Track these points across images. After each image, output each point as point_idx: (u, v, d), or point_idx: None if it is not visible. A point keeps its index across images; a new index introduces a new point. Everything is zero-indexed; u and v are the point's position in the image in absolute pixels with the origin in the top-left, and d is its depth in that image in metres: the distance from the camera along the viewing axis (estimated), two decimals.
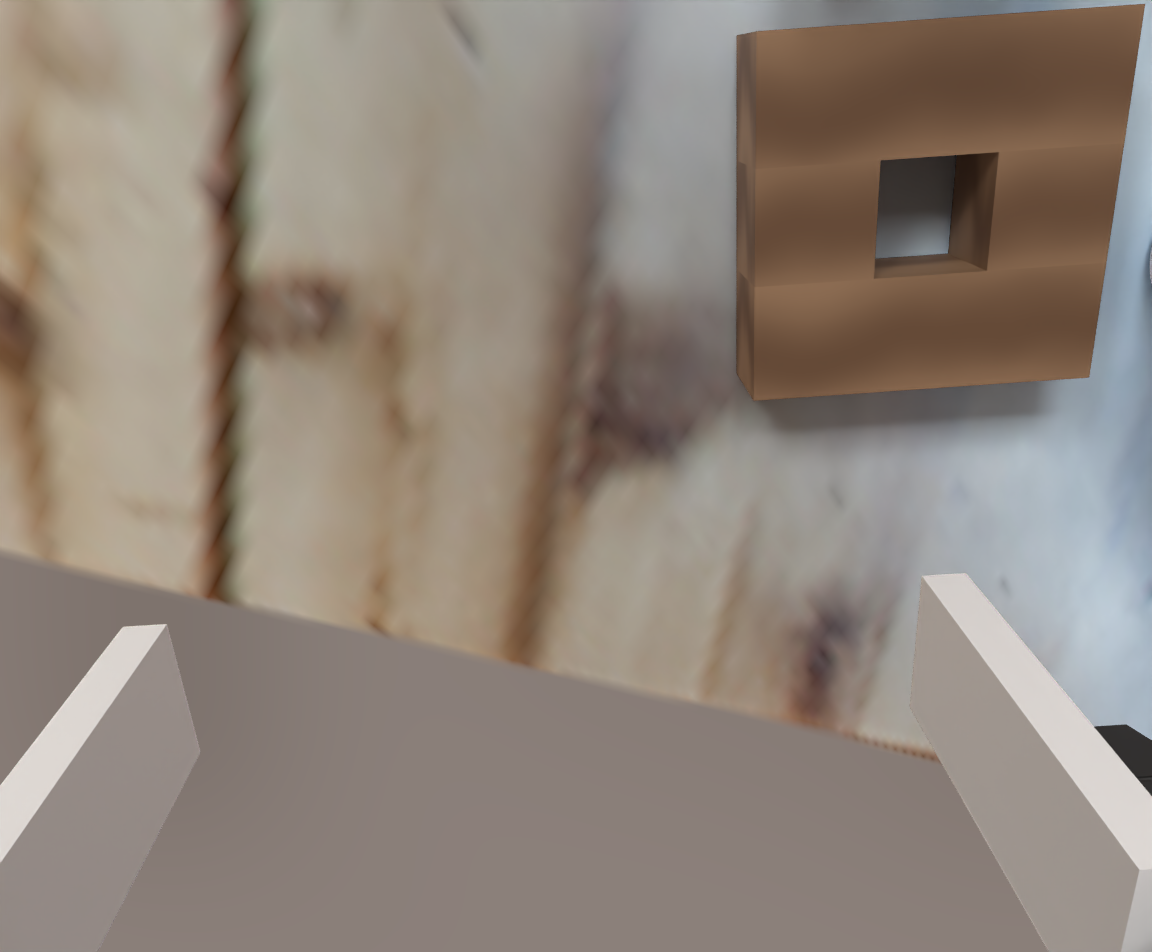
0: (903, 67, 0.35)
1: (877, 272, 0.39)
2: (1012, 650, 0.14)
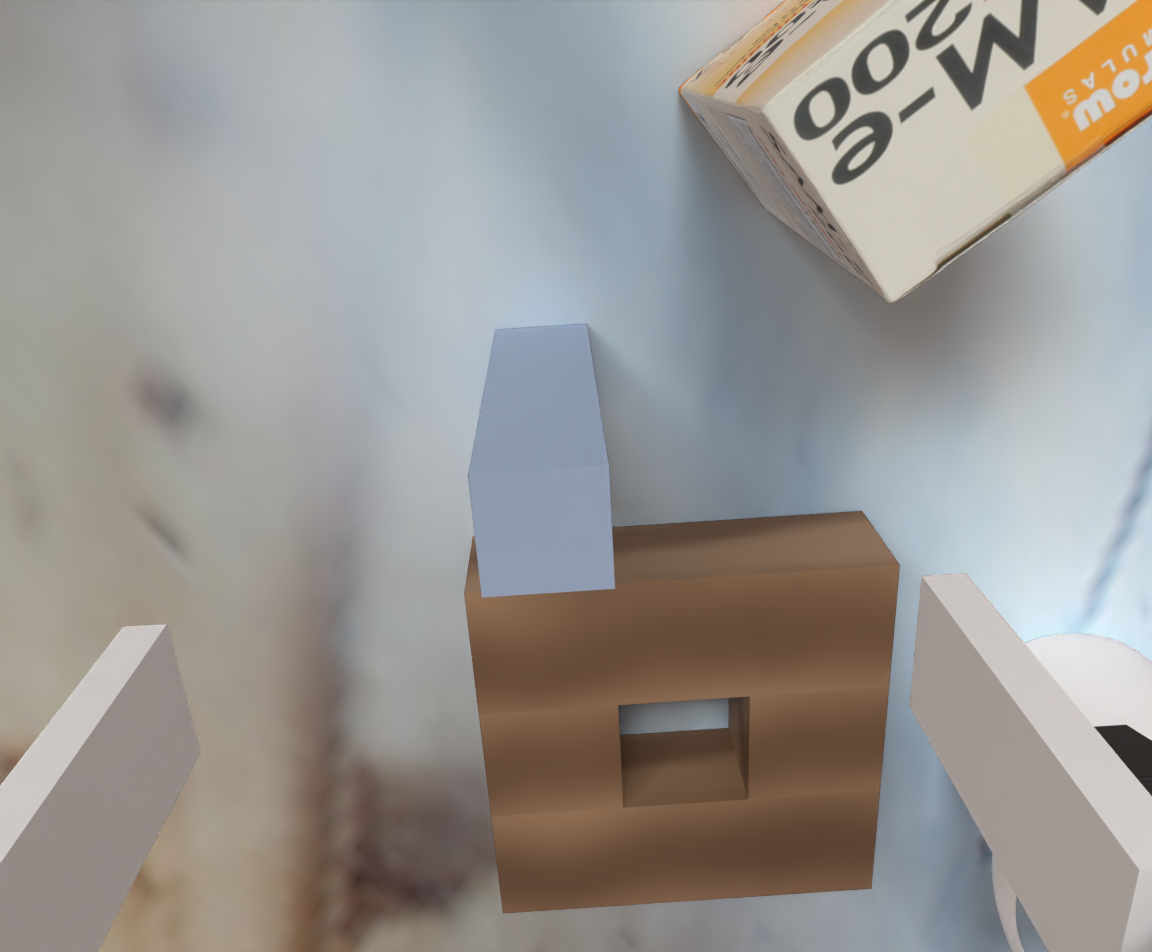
0: (634, 623, 0.31)
1: (634, 784, 0.35)
2: (1012, 650, 0.14)
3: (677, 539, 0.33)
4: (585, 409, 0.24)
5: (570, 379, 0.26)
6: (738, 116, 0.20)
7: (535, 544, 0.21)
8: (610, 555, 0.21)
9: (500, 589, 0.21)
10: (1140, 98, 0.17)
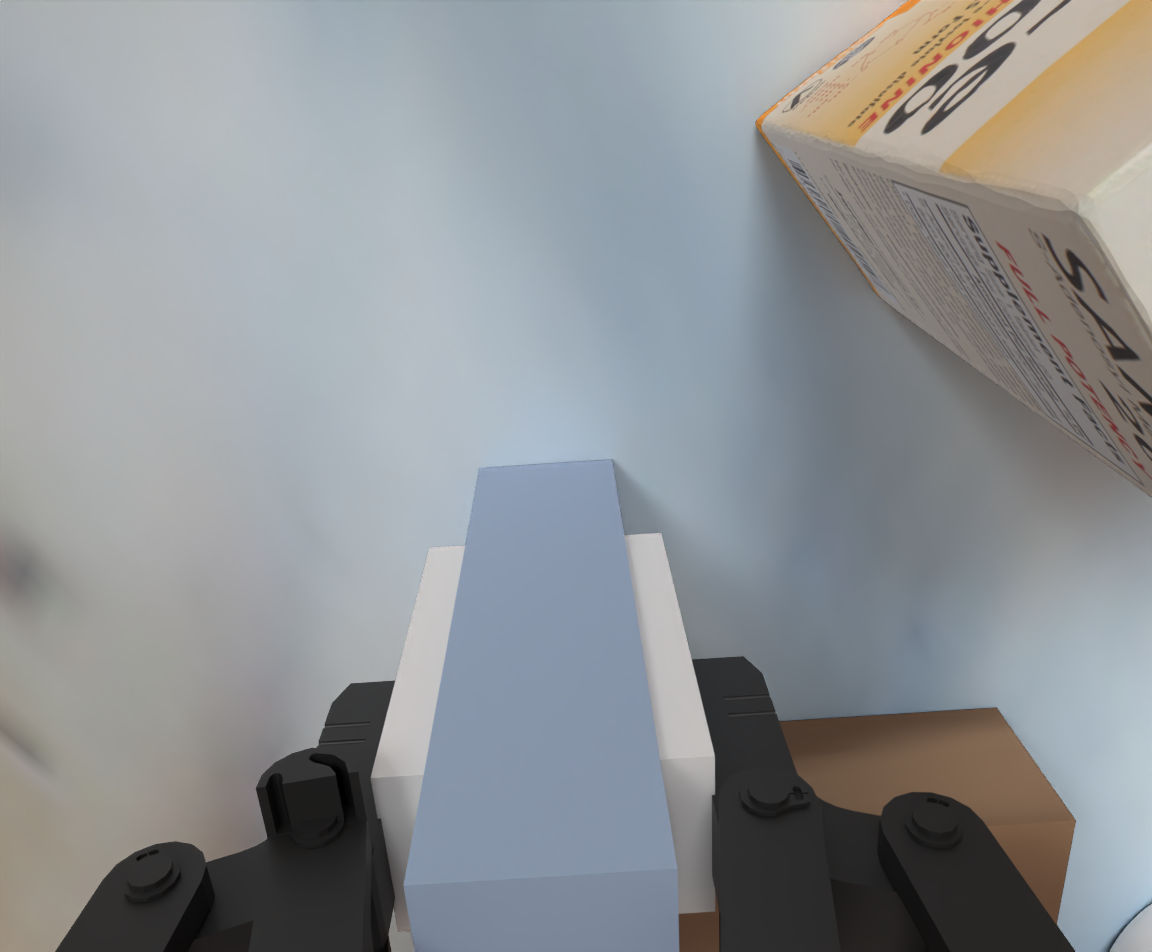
0: None
1: None
2: (661, 595, 0.16)
3: None
4: (621, 676, 0.14)
5: (592, 590, 0.16)
6: (941, 196, 0.10)
7: None
8: None
9: None
10: None
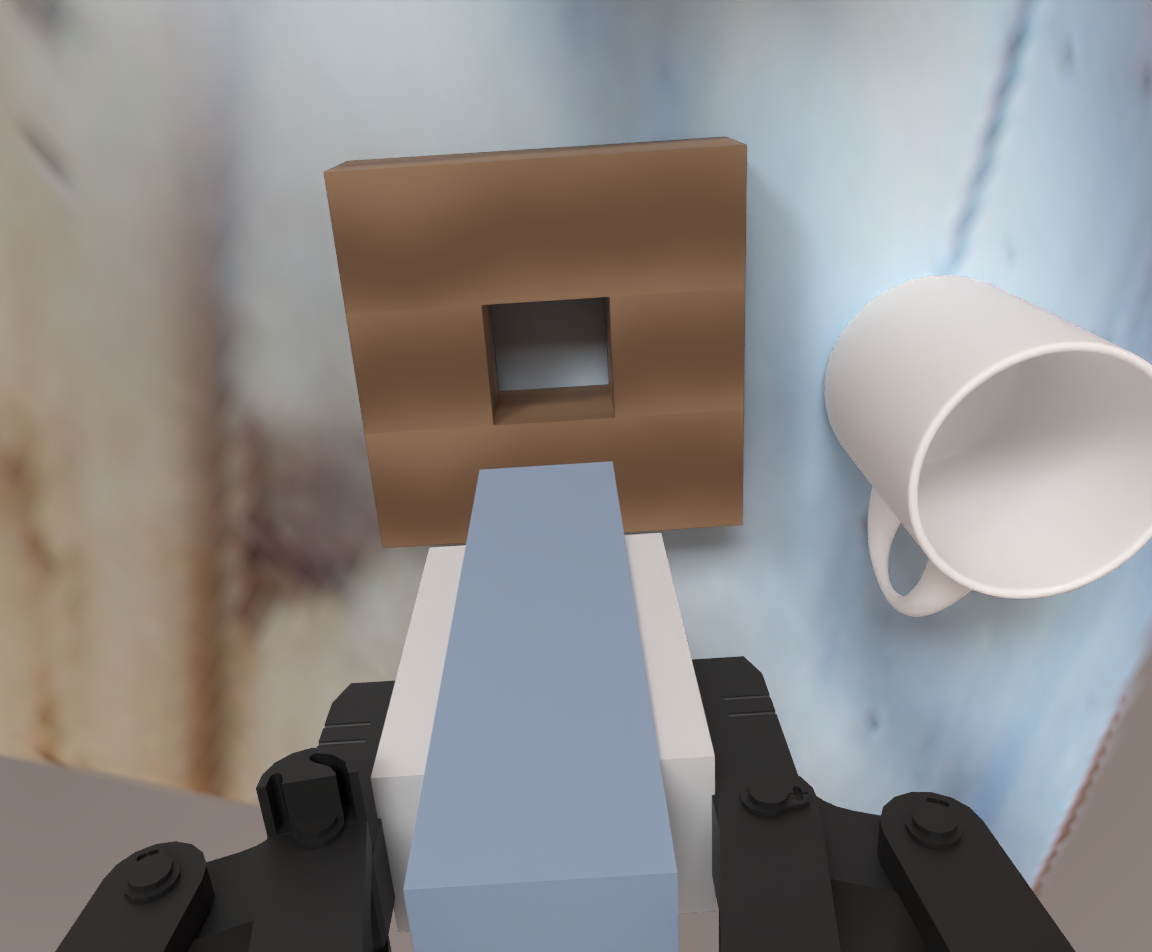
0: (491, 209, 0.32)
1: (508, 414, 0.36)
2: (661, 595, 0.16)
3: (541, 151, 0.34)
4: (621, 679, 0.14)
5: (592, 592, 0.16)
6: None
7: None
8: None
9: None
10: None
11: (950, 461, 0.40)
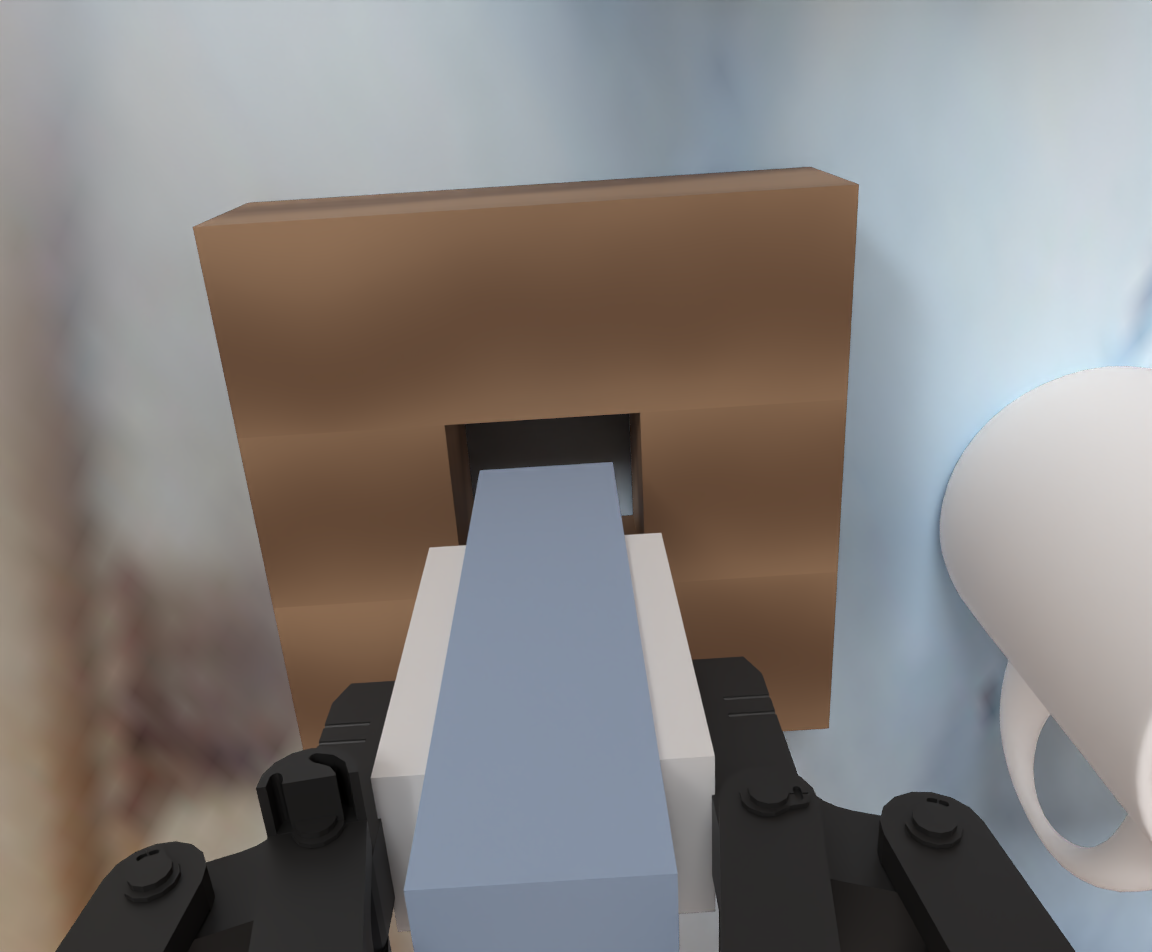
0: (458, 284, 0.21)
1: None
2: (661, 594, 0.16)
3: (536, 190, 0.23)
4: (621, 681, 0.14)
5: (592, 593, 0.16)
6: None
7: None
8: None
9: None
10: None
11: None
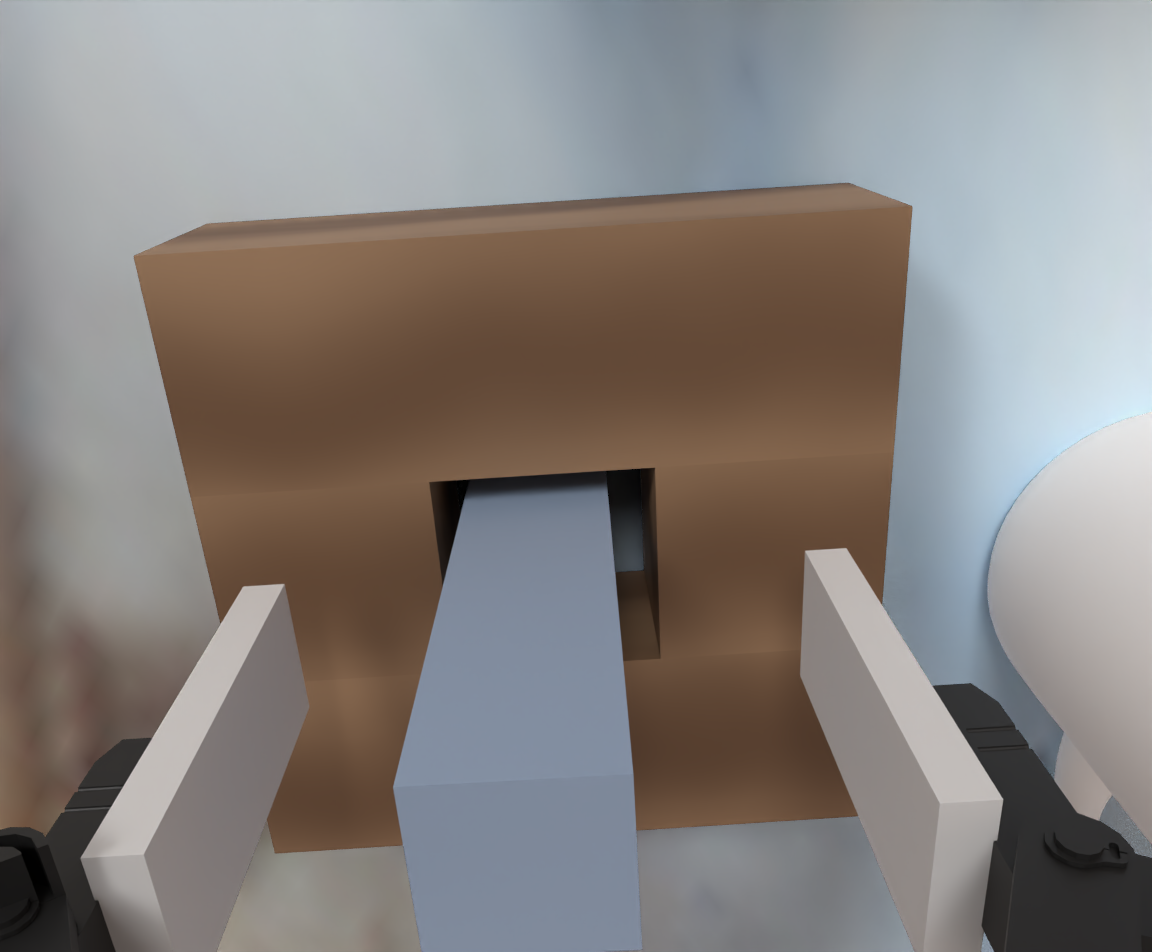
0: (443, 321, 0.18)
1: None
2: (872, 616, 0.15)
3: (536, 210, 0.20)
4: (596, 621, 0.15)
5: (575, 548, 0.18)
6: None
7: (509, 887, 0.13)
8: (635, 903, 0.13)
9: (453, 949, 0.13)
10: None
11: None
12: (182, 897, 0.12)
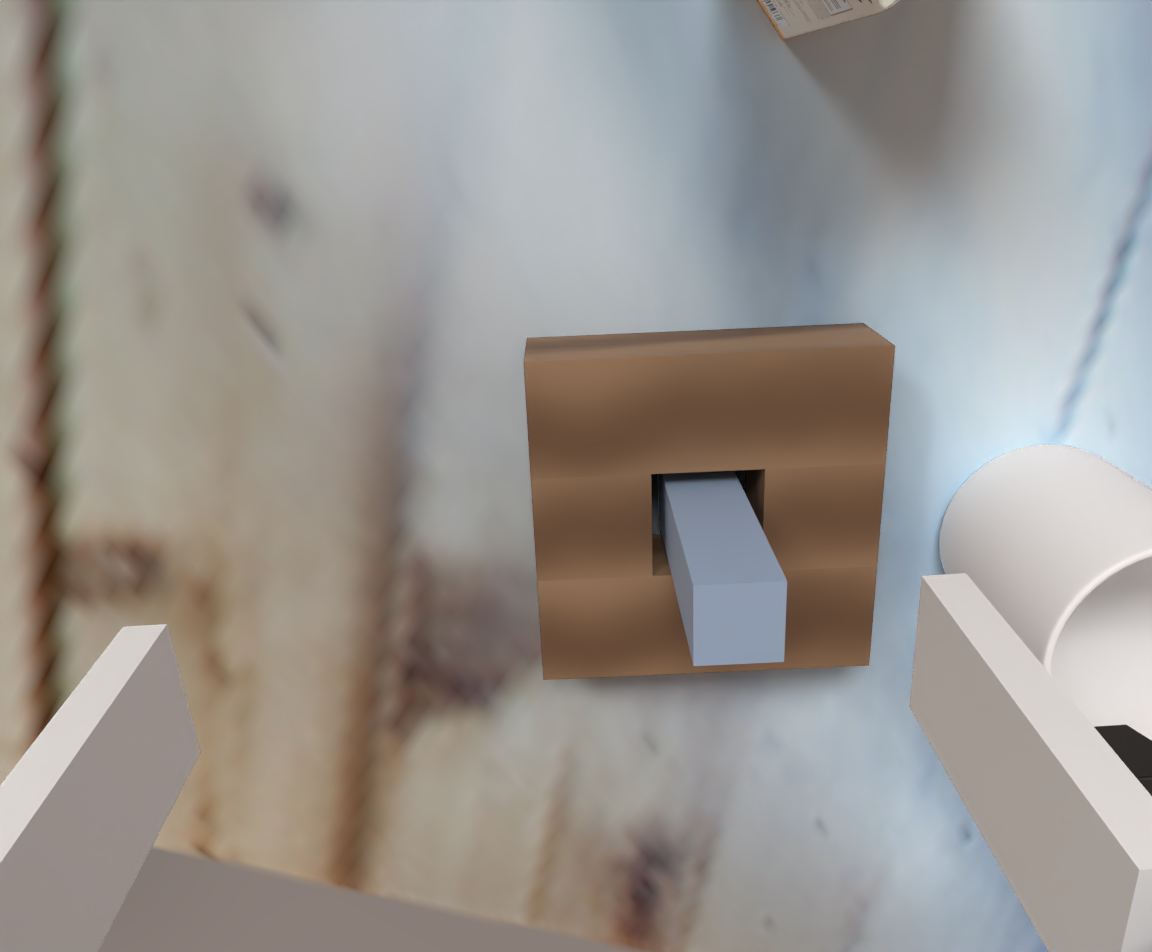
0: (667, 395, 0.36)
1: (662, 562, 0.40)
2: (1012, 650, 0.14)
3: (704, 337, 0.38)
4: (754, 534, 0.34)
5: (732, 506, 0.36)
6: None
7: (733, 631, 0.31)
8: (783, 639, 0.31)
9: (706, 661, 0.31)
10: None
11: None
12: None
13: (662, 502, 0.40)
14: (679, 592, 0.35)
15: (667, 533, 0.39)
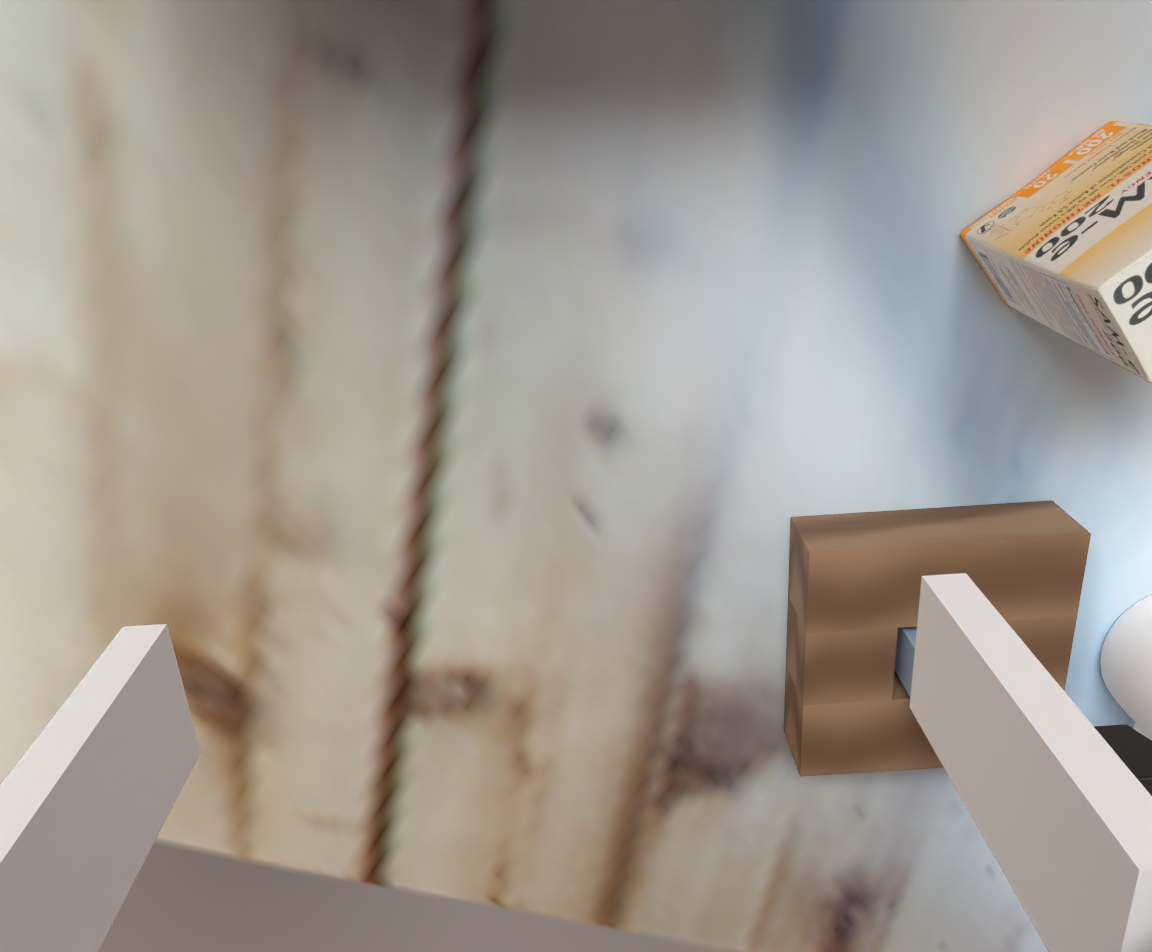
0: (915, 572, 0.48)
1: (894, 686, 0.52)
2: (1012, 650, 0.14)
3: (933, 518, 0.50)
4: None
5: None
6: (1059, 280, 0.36)
7: None
8: None
9: None
10: None
11: None
12: None
13: None
14: None
15: (906, 669, 0.50)
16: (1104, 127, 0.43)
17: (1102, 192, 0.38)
